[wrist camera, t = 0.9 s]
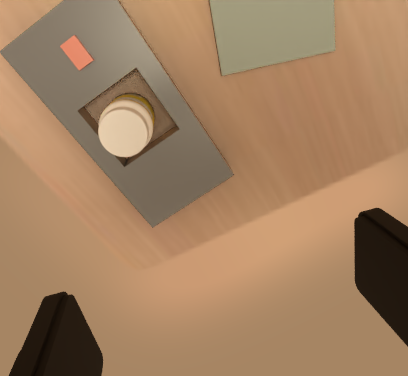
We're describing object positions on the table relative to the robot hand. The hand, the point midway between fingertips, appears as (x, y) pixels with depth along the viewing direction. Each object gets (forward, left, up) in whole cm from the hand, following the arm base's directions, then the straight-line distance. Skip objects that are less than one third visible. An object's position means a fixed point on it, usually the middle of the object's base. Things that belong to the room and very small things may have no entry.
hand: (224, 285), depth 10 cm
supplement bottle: (+5, -2, -27) cm, 27 cm away
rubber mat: (-11, -10, -26) cm, 30 cm away
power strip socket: (+5, -2, -26) cm, 27 cm away
